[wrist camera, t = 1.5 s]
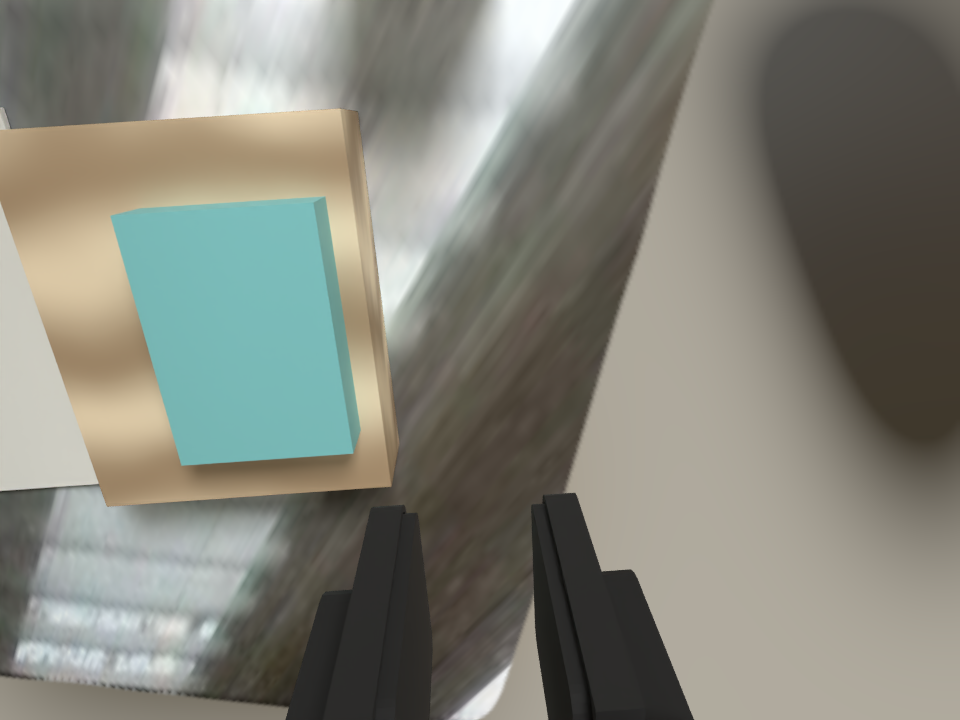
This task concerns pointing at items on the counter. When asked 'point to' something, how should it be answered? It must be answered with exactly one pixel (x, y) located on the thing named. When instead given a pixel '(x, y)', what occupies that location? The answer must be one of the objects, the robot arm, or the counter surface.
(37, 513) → the counter surface
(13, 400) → the mat
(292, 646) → the counter surface
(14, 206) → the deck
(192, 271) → the teal sticky note pad
